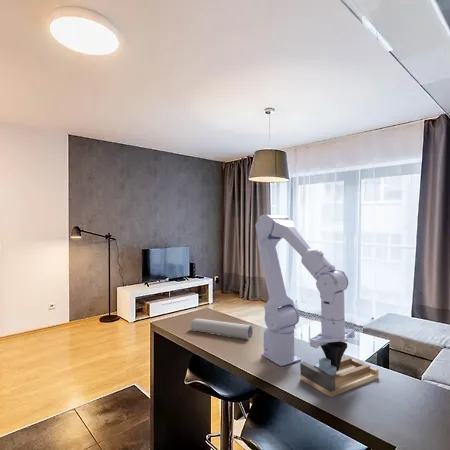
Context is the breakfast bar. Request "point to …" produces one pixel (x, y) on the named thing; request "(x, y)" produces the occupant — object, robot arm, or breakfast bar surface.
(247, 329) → the tube
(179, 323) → the breakfast bar surface
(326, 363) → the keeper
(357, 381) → the track
